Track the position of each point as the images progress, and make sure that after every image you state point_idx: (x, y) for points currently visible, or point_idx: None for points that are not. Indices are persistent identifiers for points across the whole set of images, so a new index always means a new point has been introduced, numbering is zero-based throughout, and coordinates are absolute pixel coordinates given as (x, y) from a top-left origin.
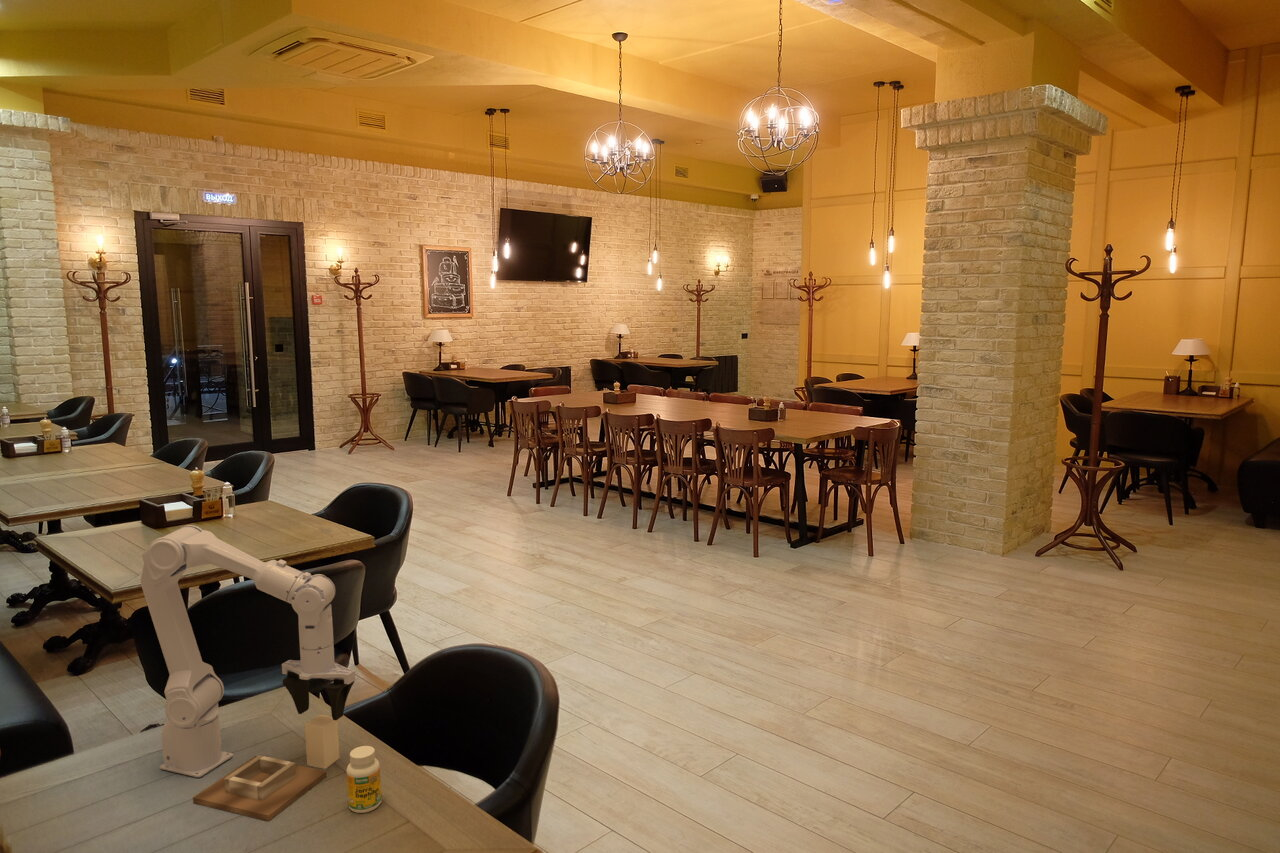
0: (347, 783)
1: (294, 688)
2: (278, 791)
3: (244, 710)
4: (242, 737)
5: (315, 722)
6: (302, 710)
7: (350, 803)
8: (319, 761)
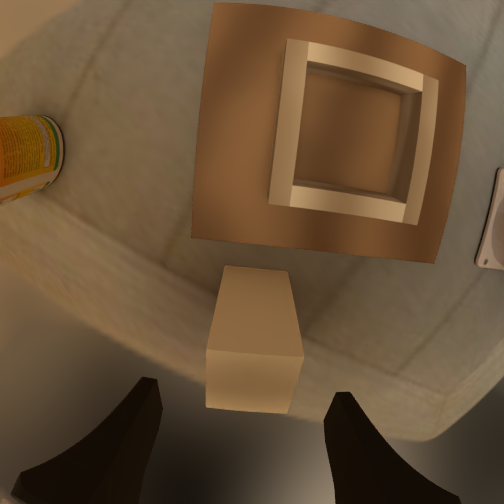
0: (12, 125)
1: (384, 502)
2: (266, 103)
3: (482, 383)
4: (474, 326)
5: (266, 374)
6: (335, 408)
7: (37, 117)
8: (242, 276)
